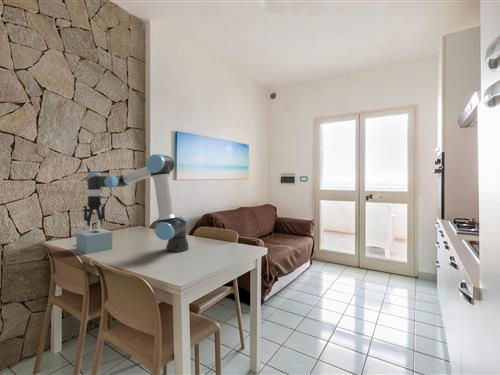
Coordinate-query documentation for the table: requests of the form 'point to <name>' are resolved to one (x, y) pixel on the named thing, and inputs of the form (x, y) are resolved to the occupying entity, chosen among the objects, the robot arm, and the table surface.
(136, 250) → the table surface
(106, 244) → the box
